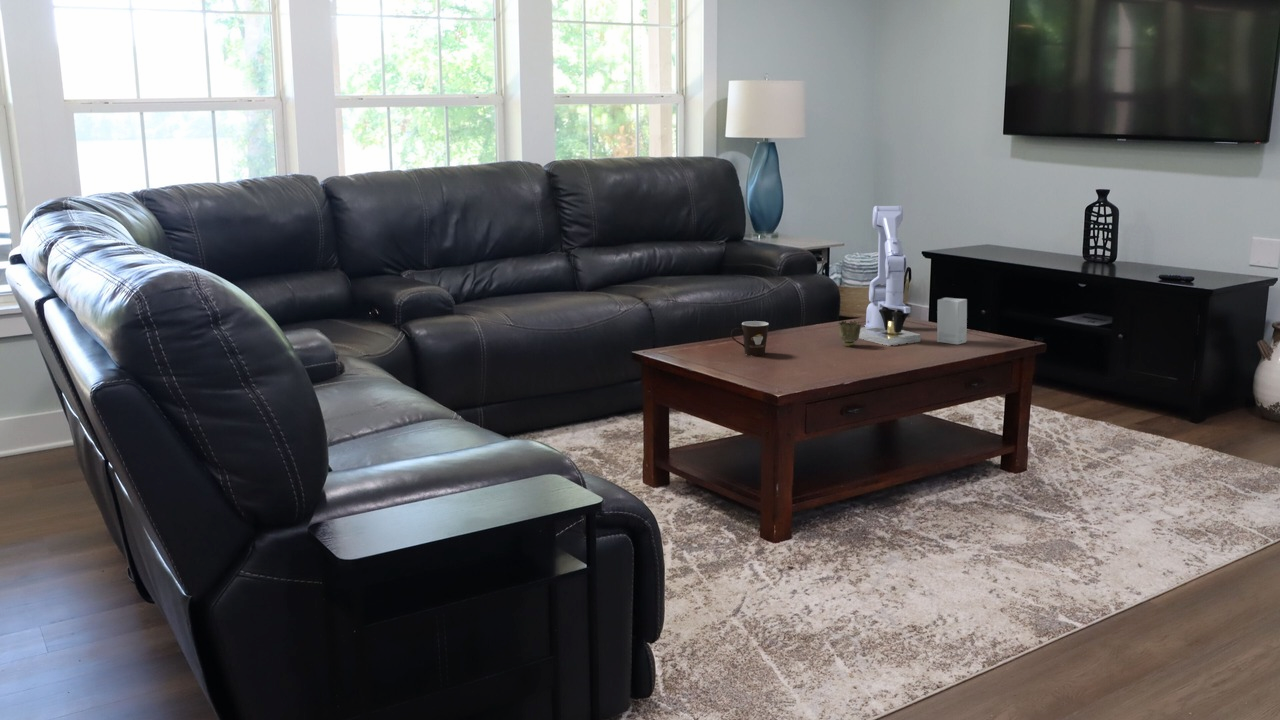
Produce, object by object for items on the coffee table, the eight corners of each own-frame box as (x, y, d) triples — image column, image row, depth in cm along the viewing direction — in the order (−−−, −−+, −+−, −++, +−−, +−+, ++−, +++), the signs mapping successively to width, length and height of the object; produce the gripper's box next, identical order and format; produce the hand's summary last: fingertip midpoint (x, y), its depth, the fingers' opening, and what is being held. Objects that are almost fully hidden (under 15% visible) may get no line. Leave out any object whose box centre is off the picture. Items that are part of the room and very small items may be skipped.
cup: (859, 343, 368) (860, 320, 366) (861, 348, 360) (862, 324, 359) (836, 343, 368) (837, 320, 367) (838, 348, 361) (839, 324, 359)
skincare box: (966, 342, 368) (969, 299, 365) (957, 345, 364) (959, 301, 361) (944, 339, 374) (946, 296, 371) (935, 341, 370) (937, 298, 366)
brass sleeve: (884, 340, 373) (885, 320, 371) (893, 339, 375) (894, 319, 373) (892, 342, 369) (893, 322, 368) (901, 341, 371) (902, 321, 370)
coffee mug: (770, 351, 356) (770, 321, 354) (765, 357, 348) (766, 326, 346) (735, 350, 360) (735, 320, 357) (729, 355, 351) (730, 325, 349)
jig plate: (849, 336, 381) (850, 328, 380) (880, 331, 387) (881, 325, 387) (888, 346, 364) (889, 338, 363) (920, 341, 370) (920, 334, 370)
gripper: (918, 293, 364) (916, 333, 367) (890, 287, 376) (888, 326, 379) (901, 295, 361) (899, 335, 364) (873, 289, 373) (872, 328, 376)
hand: (892, 331), depth 371 cm, fingers open, 5 cm apart
